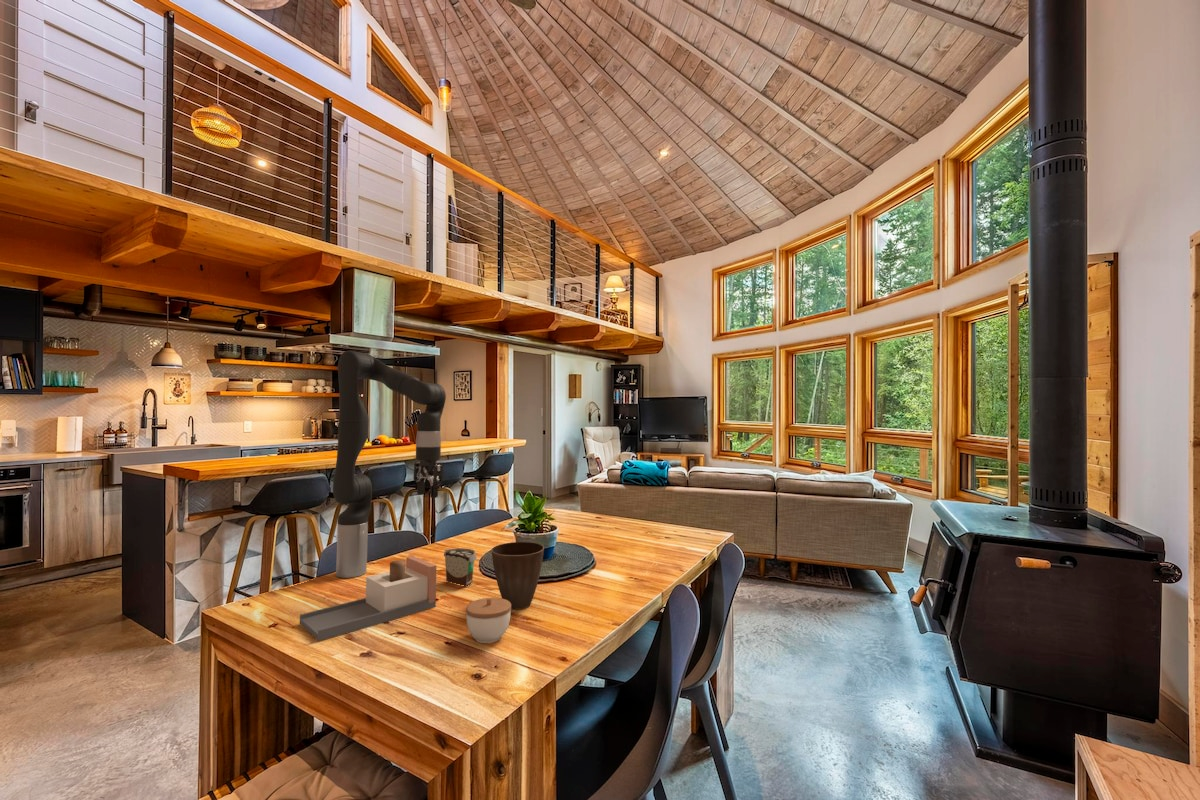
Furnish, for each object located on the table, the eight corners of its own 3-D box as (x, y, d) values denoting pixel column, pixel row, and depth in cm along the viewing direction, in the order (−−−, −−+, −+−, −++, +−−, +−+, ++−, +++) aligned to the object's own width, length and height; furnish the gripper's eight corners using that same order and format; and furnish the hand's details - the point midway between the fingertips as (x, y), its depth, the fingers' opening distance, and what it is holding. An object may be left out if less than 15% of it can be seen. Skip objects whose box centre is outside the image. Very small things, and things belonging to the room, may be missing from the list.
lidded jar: (463, 632, 123) (463, 593, 123) (506, 625, 127) (506, 588, 127) (468, 651, 113) (469, 609, 113) (514, 643, 117) (515, 603, 117)
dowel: (400, 595, 141) (401, 559, 141) (407, 598, 138) (407, 562, 138) (386, 598, 138) (387, 562, 138) (393, 602, 135) (393, 565, 135)
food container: (484, 582, 160) (484, 551, 160) (469, 588, 154) (470, 555, 155) (457, 576, 166) (458, 546, 167) (443, 581, 161) (443, 550, 161)
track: (299, 624, 126) (301, 578, 127) (411, 594, 148) (412, 555, 149) (318, 641, 117) (320, 592, 117) (435, 606, 139) (436, 565, 139)
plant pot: (496, 618, 131) (497, 557, 132) (485, 599, 145) (486, 544, 146) (550, 610, 138) (551, 551, 138) (534, 592, 151) (535, 539, 152)
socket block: (365, 602, 138) (366, 576, 138) (407, 591, 146) (407, 567, 147) (384, 614, 129) (385, 587, 130) (427, 602, 138) (427, 576, 139)
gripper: (450, 446, 156) (449, 497, 156) (428, 444, 166) (427, 492, 166) (428, 446, 151) (427, 500, 150) (406, 444, 161) (405, 494, 160)
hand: (427, 496), depth 158 cm, fingers open, 8 cm apart
